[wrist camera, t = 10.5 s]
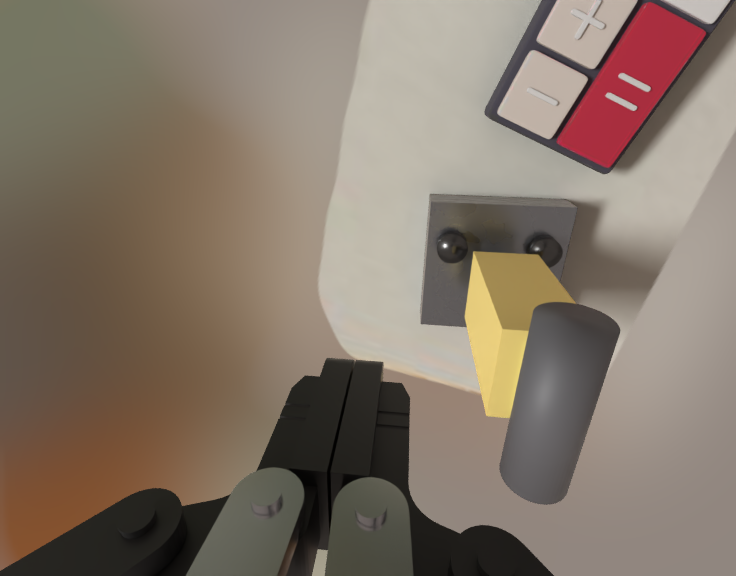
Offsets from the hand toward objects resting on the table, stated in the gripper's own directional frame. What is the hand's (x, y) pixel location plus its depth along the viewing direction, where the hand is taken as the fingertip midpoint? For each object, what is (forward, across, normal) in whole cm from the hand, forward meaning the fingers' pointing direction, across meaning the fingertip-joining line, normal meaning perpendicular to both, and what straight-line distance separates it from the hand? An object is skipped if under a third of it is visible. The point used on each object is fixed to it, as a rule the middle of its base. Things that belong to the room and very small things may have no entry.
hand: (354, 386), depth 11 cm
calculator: (+30, -15, -11) cm, 35 cm away
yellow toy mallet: (+24, -9, +7) cm, 27 cm away
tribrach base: (+29, -9, +7) cm, 31 cm away
